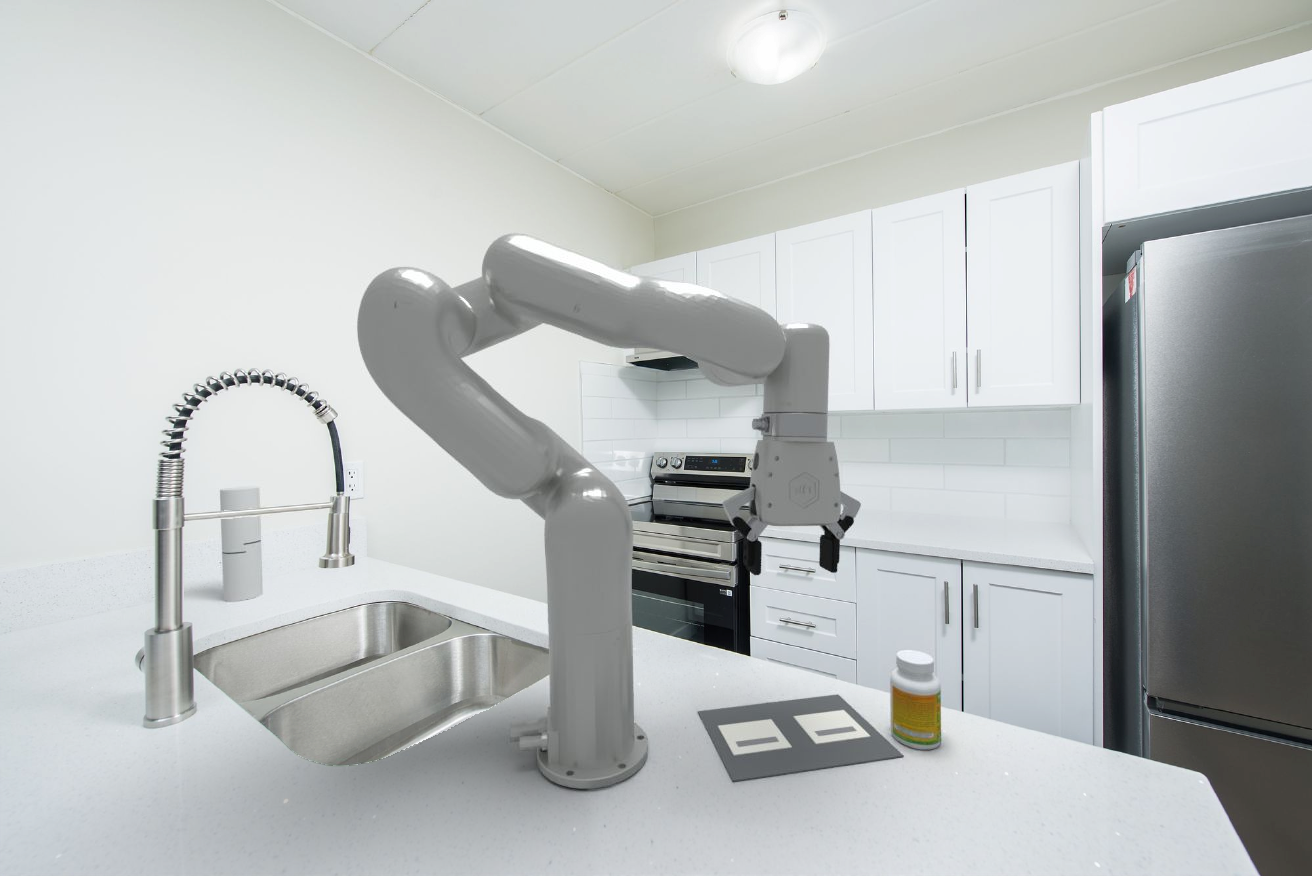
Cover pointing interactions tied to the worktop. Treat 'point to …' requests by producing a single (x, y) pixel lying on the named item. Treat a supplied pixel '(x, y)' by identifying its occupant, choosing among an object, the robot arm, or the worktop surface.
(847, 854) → the worktop surface
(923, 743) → the supplement bottle
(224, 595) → the cylindrical container
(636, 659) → the worktop surface
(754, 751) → the label mat
